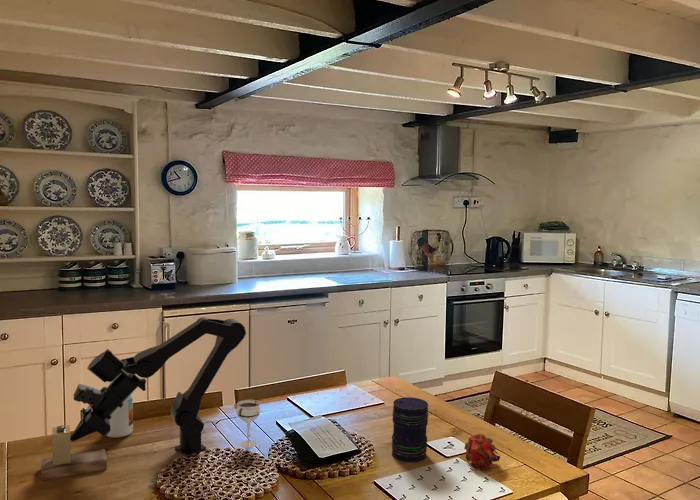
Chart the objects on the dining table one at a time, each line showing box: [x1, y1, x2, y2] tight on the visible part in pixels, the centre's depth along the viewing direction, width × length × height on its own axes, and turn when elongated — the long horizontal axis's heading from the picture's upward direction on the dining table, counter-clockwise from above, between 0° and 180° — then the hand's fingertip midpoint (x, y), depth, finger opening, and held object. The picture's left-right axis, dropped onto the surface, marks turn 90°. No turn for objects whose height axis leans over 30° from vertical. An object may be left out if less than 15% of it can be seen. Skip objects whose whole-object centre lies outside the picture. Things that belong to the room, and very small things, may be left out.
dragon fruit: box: [464, 433, 501, 471], centre depth 157 cm, size 8×8×12 cm
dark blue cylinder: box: [391, 396, 429, 464], centre depth 161 cm, size 10×10×15 cm
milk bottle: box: [106, 370, 134, 439], centre depth 171 cm, size 8×8×20 cm
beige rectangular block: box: [51, 425, 71, 466], centre depth 147 cm, size 4×5×9 cm
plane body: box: [40, 448, 108, 481], centre depth 149 cm, size 15×7×2 cm, turn 117°
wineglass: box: [236, 399, 261, 449], centre depth 166 cm, size 7×7×12 cm
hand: (71, 439), depth 148 cm, fingers closed, pressing on beige rectangular block
